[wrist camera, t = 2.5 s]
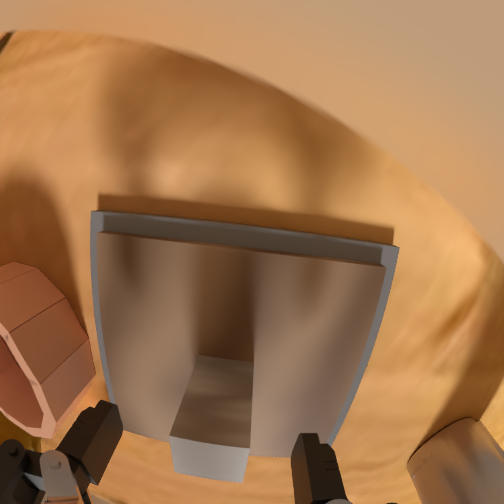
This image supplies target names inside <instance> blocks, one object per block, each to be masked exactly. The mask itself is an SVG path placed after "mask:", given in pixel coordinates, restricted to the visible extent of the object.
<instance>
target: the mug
mask: <svg viewBox="0 0 504 504" xmlns="http://www.w3.org/2000/svg"><path fill="white" fill-rule="evenodd" d="M8 439H15V440H18V441H19V442H21V443H22V445H23V446H24V448H25V449H28V450H31V451H35V452H39V453H41V442H40V437H35V436H32V435H31V434H29V433H28V432H26V431H25V430H23V429H22V428H20V427H19V426H17V425H16V424H14V423H13V422H12V421H10V420H9V419H8V418H7V417H6V416H5V415H4V414H3V413H2V412H1V411H0V446H1V444H2V443H3V442H4V441H6V440H8Z"/></svg>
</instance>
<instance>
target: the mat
mask: <svg viewBox="0 0 504 504" xmlns="http://www.w3.org/2000/svg"><path fill="white" fill-rule="evenodd" d="M104 230H105V231H113V232H122V233H131V234H139V235H148V236H157V237H165V238H174V239H182V240H191V241H199V242H207V243H216V244H224V245H233V246H241V247H249V248H258V249H266V250H274V251H282V252H290V253H299V254H307V255H315V256H323V257H331V258H339V259H347V260H355V261H363V262H371V263H379V264H382V265H383V266H385V267H387V268H386V273H385V277H384V282H383V286H382V290H381V294H380V298H379V302H378V306H377V309H376V313H375V316H374V320H373V323H372V327H371V330H370V333H369V337H368V340H367V343H366V346H365V349H364V352H363V355H362V358H361V361H360V364H359V366H358V369H357V372H356V375H355V377H354V380H353V383H352V385H351V388H350V390H349V393H348V395H347V398H346V400H345V403H344V405H343V407H342V410H341V412H340V414H339V416H338V419H337V421H336V423H335V425H334V427H333V430H332V432H331V434H330V436H329V438H328V440H327V442H326V443H328V444H329V445H330V447H331V445H332V443H333V442H334V440H335V438H336V436H337V434H338V432H339V430H340V428H341V425H342V423H343V421H344V419H345V417H346V415H347V413H348V410H349V408H350V406H351V404H352V401H353V399H354V397H355V394H356V392H357V390H358V387H359V385H360V382H361V380H362V377H363V374H364V372H365V369H366V366H367V364H368V361H369V358H370V355H371V353H372V350H373V347H374V344H375V341H376V338H377V334H378V331H379V328H380V325H381V322H382V318H383V315H384V311H385V308H386V304H387V300H388V296H389V293H390V289H391V285H392V280H393V276H394V272H395V267H396V263H397V258H398V253H399V247H397V246H394V245H390V244H384V243H378V242H371V241H364V240H358V239H351V238H344V237H337V236H330V235H323V234H316V233H308V232H301V231H293V230H285V229H278V228H270V227H261V226H253V225H245V224H236V223H227V222H218V221H209V220H200V219H190V218H181V217H170V216H160V215H149V214H138V213H127V212H115V211H102V210H96V211H91V231H90V250H91V278H92V293H93V305H94V314H95V323H96V330H97V337H98V344H99V350H100V356H101V361H102V367H103V372H104V377H105V381H106V386H107V390H108V394H109V398H110V402H111V403H113V404H116V403H115V399H114V394H113V390H112V385H111V381H110V376H109V371H108V365H107V359H106V354H105V347H104V340H103V333H102V325H101V316H100V306H99V294H98V277H97V232H101V231H104Z"/></svg>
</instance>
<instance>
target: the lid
mask: <svg viewBox="0 0 504 504" xmlns="http://www.w3.org/2000/svg"><path fill="white" fill-rule="evenodd" d="M386 268H387V267H385V266H383V265H382V264H379V263H371V262H363V261H355V260H347V259H339V258H331V257H323V256H315V255H307V254H299V253H290V252H282V251H274V250H266V249H258V248H249V247H241V246H233V245H224V244H216V243H207V242H199V241H191V240H182V239H174V238H165V237H157V236H148V235H139V234H131V233H122V232H113V231H105V230H104V231H101V232H97V277H98V294H99V306H100V316H101V325H102V333H103V340H104V347H105V354H106V359H107V365H108V371H109V376H110V381H111V385H112V390H113V394H114V399H115V403H116V405H117V406H118V409H119V413H120V417H121V420H122V424H123V430H126V431H129V432H132V433H135V434H139V435H142V436H145V437H149V438H153V439H156V440H160V441H164V442H168V443H170V446H171V453H172V459H173V465H174V471H175V472H176V473H181V474H186V475H191V476H196V477H202V478H208V479H214V480H222V481H230V482H240V483H242V482H243V478H244V474H245V469H246V465H247V460H248V456H249V455H251V456H265V457H291V454H292V450H293V448H294V445H295V443H296V440H297V438H298V435H299V433H317V434H318V436H319V441H320V444H323V443H326V442H327V440H328V438H329V436H330V434H331V432H332V430H333V427H334V425H335V423H336V421H337V419H338V416H339V414H340V412H341V410H342V407H343V405H344V403H345V400H346V398H347V395H348V393H349V390H350V388H351V385H352V383H353V380H354V377H355V375H356V372H357V369H358V366H359V364H360V361H361V358H362V355H363V352H364V349H365V346H366V343H367V340H368V337H369V333H370V330H371V327H372V323H373V320H374V316H375V313H376V309H377V306H378V302H379V298H380V294H381V290H382V286H383V282H384V277H385V273H386Z"/></svg>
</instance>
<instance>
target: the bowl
mask: <svg viewBox="0 0 504 504" xmlns="http://www.w3.org/2000/svg"><path fill="white" fill-rule="evenodd" d="M94 376H95V369H94V365H93V360H92V355H91V349H90V344H89V339H88V336H87V335H86V333H85V331H84V330H83V328H82V326H81V324H80V322H79V321H78V319H77V317H76V315H75V313H74V311H73V309H72V307H71V305H70V304H69V302H68V300H67V298H66V296H65V295H64V294H63V293H62V292H61V291H60V290H59V289H58V288H57V287H56V286H55V285H54V284H53V283H52V282H51V281H50V280H49V279H48V278H47V277H46V276H45V275H44V274H43V273H42V272H41V271H40V270H39V269H38V268H36V267H32V266H29V265H25V264H21V263H17V262H11V263H9V264H6V265H3V266H1V267H0V411H1V412H2V413H3V414H4V415H5V416H6V417H7V418H8V419H9V420H10V421H12V422H13V423H14V424H16V425H17V426H19V427H20V428H22V429H23V430H25V431H26V432H28V433H29V434H31V435H32V436H35V437H42V438H49V439H52V438H53V436H54V435H55V434H56V432H57V431H58V430H59V428H60V427H61V426H62V424H63V423H64V422H65V421H66V419H67V418H68V417H69V415H70V414H71V413H72V411H73V410H74V409H75V408H76V406H77V405H78V404H79V402H80V401H81V400H82V399H83V397H84V396H85V395H86V393H87V391H88V389H89V387H90V385H91V383H92V381H93V379H94Z"/></svg>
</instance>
